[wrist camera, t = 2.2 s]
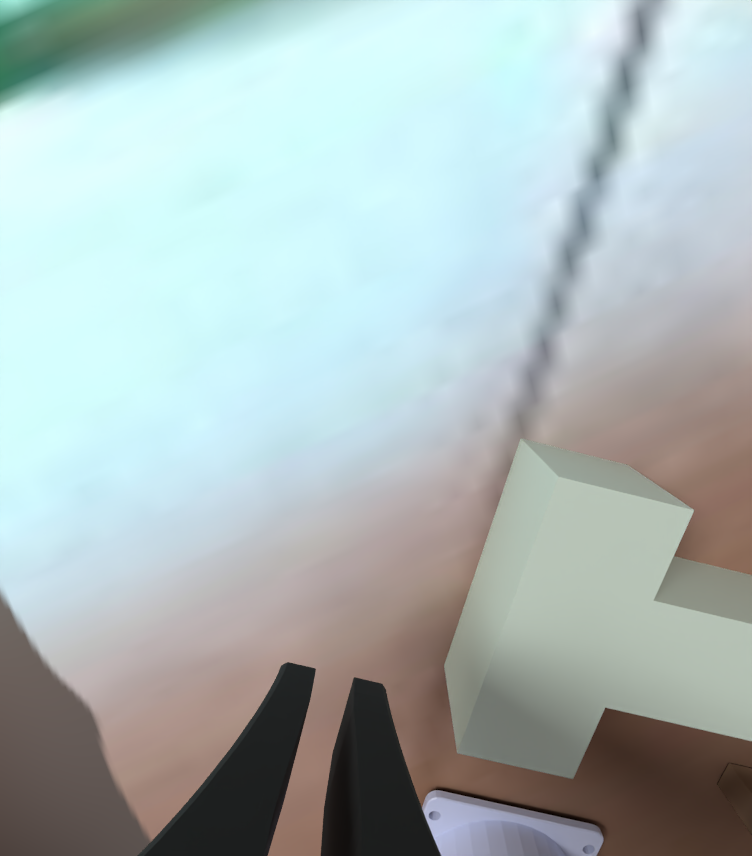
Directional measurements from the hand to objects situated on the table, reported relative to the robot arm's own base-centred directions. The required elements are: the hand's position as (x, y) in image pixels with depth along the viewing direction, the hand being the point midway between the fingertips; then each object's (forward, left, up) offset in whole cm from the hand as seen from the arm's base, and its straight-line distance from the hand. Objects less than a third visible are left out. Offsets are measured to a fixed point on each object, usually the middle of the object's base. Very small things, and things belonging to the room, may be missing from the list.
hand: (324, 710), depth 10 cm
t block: (0, -11, -8) cm, 14 cm away
